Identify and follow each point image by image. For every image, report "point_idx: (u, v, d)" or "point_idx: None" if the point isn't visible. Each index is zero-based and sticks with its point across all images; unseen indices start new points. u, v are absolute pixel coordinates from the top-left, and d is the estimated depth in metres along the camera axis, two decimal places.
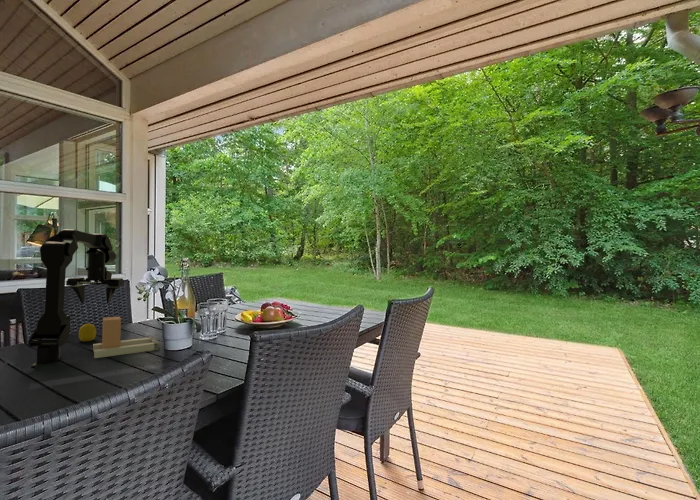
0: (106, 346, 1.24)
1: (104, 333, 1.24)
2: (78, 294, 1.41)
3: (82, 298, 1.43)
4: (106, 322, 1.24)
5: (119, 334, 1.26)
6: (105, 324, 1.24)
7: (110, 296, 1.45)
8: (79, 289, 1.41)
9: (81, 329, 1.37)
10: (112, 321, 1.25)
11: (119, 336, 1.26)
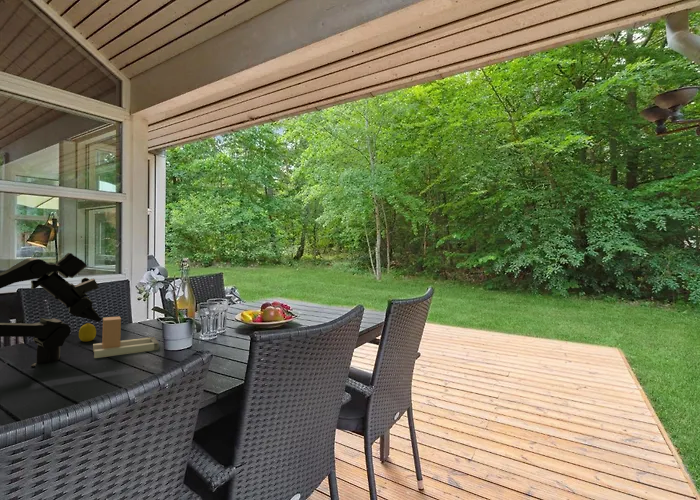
0: (106, 346, 1.24)
1: (104, 333, 1.24)
2: None
3: None
4: (106, 322, 1.24)
5: (119, 334, 1.26)
6: (105, 324, 1.24)
7: (92, 316, 1.20)
8: None
9: (81, 329, 1.37)
10: (112, 321, 1.25)
11: (119, 336, 1.26)
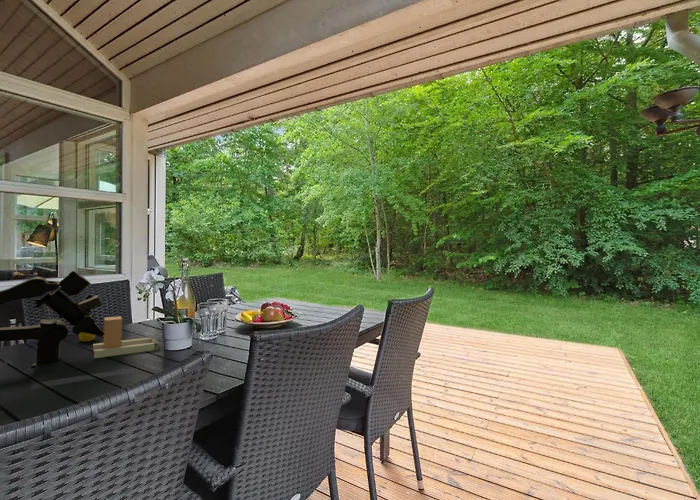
0: (107, 346, 1.24)
1: (105, 333, 1.24)
2: None
3: None
4: (107, 322, 1.24)
5: (120, 334, 1.27)
6: (106, 324, 1.24)
7: (94, 331, 1.23)
8: None
9: None
10: (113, 321, 1.25)
11: (120, 336, 1.27)
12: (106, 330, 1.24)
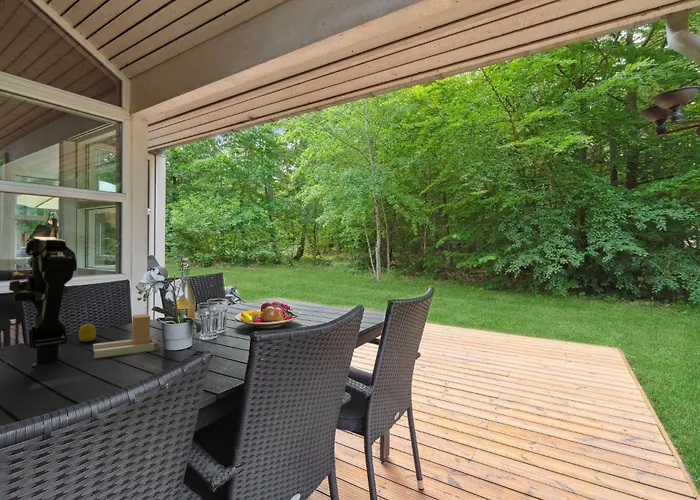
0: (136, 342, 1.30)
1: (135, 330, 1.29)
2: None
3: None
4: (136, 319, 1.29)
5: (148, 331, 1.32)
6: (135, 321, 1.29)
7: None
8: None
9: (81, 329, 1.37)
10: (142, 318, 1.30)
11: (148, 333, 1.32)
12: (135, 327, 1.29)
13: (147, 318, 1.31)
